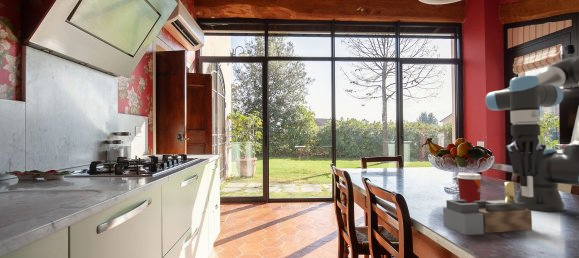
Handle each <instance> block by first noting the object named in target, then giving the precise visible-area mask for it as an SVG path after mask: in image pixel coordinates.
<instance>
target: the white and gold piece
mask: <svg viewBox="0 0 579 258" xmlns="http://www.w3.org/2000/svg"><path fill="white" fill-rule="evenodd" d="M515 191H516V190H515V182H513V181H504V199H505V200H503V199H500V200H501V201H485V204H502V203H518V202H516V192H515Z"/></svg>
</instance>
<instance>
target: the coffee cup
mask: <svg viewBox="0 0 579 258" xmlns="http://www.w3.org/2000/svg"><path fill="white" fill-rule="evenodd" d="M456 179H457V183H458V184H457V185H458V186H457V187H458V197H459V200H461V199H463V200H466V202H467V203H473V201H481V194H482V193H481V192H482V179H483V177H482V176H481V174H480V173H474V172H459V173H457V176H456Z"/></svg>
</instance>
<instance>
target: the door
mask: <svg viewBox="0 0 579 258" xmlns="http://www.w3.org/2000/svg"><path fill="white" fill-rule="evenodd" d="M501 200H505V198H504V199H487V200H485V199H484V200H483V199H482V200H480V201H473V203H477V204H479V213H482V214H483V228H484V234H487V233H489V234H490V233H502V232H515V231H518V232H519V231H531V230H533V219H532V218H533V217H532V209H526V203H522V202H521V203H502V204H485V201H501Z"/></svg>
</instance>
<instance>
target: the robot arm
mask: <svg viewBox="0 0 579 258" xmlns="http://www.w3.org/2000/svg"><path fill="white" fill-rule="evenodd" d="M577 85H578V86H579V55H576V56H572V57H571V56H570V57H568V58H565V59H562V60H560V61H558V62H555V63H553V64H551V65H549V66H547V67H544V68H543V69H541V70H540V71H539V73H537V74H535V75H521V76H517V77H512V78H511V79H510V80H509V86H508V87H507V88H506V87H505V88H503V89H501V90H495V91H491V92H488V93H487V94H486V96H485V101H484V102H485V104H486V107H487V109H488V110H490V111H506V110H508V111H510V112H509V113H510V123H511V125H510V135H511V136H512V140H511V142H512V143H510V144H507V145H505V149H506V151H507V152H508V156H509V160H510V164H511V168H512V171H513V174H515V175H516V176H519V185H520V187H519V191H518V193H517V197H515V201H516V202H518V203H521V202H522V203H526V209H528V210H531V211H532V210H533V211H539V212H540V211H541V212H552V213H554V212H555V213H556V212H564V211H565V210H566V206H565V202H564V201H563V198H562V195H561V193H560V190H559V185H561V184H562V185H570V186H575V187H576V186H577V187H579V106H578V107H577V112H576V117H575V122H574V126H573V130H572V136H571V140H570V143H568V144H566V145H564V147H563V151H562V152H558V150H557V149H555V148H552V149H551V148H549V149H546V148H547V145H546V144H542V143H540V140H539V136H540V135H541V125H540V124H538V123H540V108H541V107H543V108H551V107H555V106H557V105H559V104H560V103H562V101H563V99H564V91H563V90H562V87H568V86H577Z"/></svg>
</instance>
